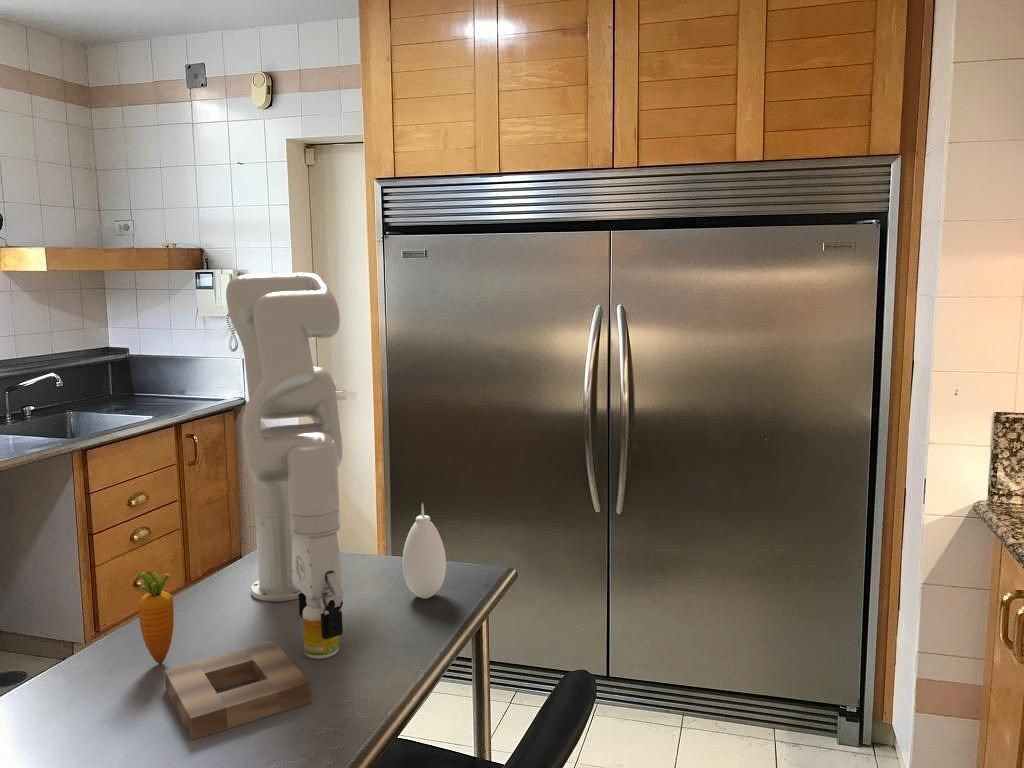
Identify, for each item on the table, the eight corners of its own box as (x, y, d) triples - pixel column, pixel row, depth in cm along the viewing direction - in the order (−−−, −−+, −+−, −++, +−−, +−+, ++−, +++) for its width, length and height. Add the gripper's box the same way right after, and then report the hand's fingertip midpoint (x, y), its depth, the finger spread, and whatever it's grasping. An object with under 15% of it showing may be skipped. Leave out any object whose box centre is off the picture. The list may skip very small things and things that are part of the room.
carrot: (184, 658, 128) (177, 567, 126) (161, 673, 124) (154, 578, 122) (159, 654, 130) (152, 564, 128) (135, 668, 125) (127, 575, 123)
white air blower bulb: (454, 593, 153) (452, 500, 150) (428, 608, 146) (425, 511, 144) (422, 585, 157) (419, 494, 154) (395, 599, 150) (392, 504, 148)
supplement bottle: (330, 661, 127) (327, 601, 125) (298, 658, 128) (295, 599, 127) (344, 645, 132) (341, 588, 131) (313, 643, 133) (310, 586, 132)
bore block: (165, 689, 119) (164, 670, 118) (274, 659, 128) (273, 640, 127) (192, 740, 106) (190, 718, 105) (311, 702, 115) (310, 682, 114)
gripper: (273, 512, 132) (279, 613, 134) (312, 540, 118) (317, 652, 120) (318, 504, 136) (322, 602, 138) (360, 530, 122) (365, 638, 124)
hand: (320, 625), depth 129 cm, fingers open, 9 cm apart
